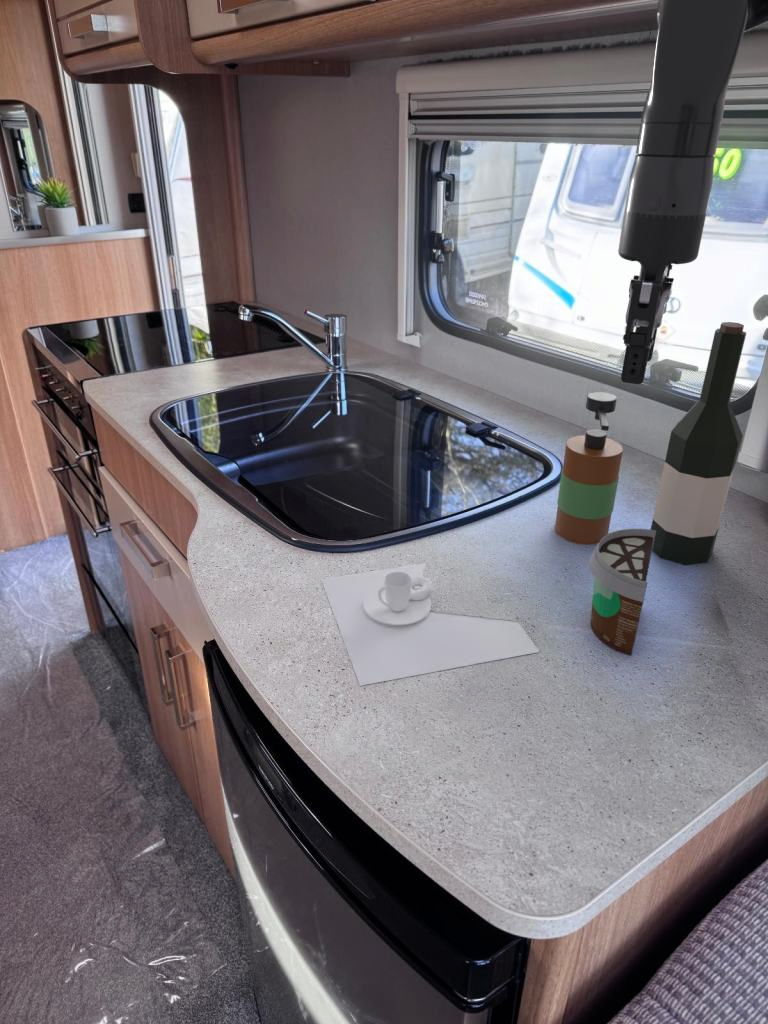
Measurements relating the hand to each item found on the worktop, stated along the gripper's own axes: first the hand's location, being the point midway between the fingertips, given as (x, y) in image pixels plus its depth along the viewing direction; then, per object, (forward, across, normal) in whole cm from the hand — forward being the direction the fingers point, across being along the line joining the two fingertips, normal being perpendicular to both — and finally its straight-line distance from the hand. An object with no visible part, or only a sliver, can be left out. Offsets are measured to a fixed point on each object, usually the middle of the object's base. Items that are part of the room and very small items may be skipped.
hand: (636, 370), depth 77 cm
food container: (+27, -9, -2) cm, 29 cm away
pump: (+10, +8, +4) cm, 14 cm away
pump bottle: (+27, +11, +4) cm, 29 cm away
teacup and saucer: (+27, -15, +18) cm, 36 cm away
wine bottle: (+27, +12, -9) cm, 31 cm away
